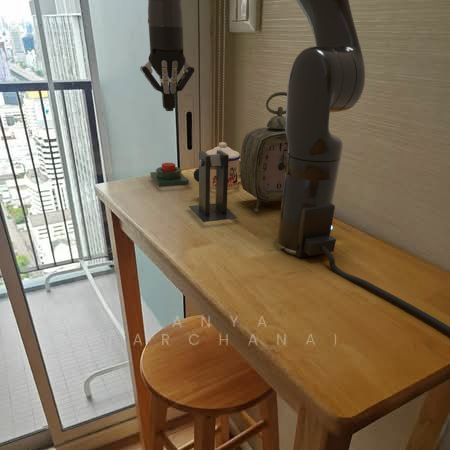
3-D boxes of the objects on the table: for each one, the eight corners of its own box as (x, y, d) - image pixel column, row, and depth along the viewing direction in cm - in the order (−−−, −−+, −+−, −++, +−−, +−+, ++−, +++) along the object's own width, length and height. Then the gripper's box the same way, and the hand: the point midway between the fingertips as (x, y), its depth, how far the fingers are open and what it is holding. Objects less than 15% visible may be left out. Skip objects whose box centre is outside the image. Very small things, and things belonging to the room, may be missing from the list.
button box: (188, 188, 108) (188, 173, 106) (159, 191, 106) (158, 175, 104) (178, 178, 116) (178, 163, 114) (150, 180, 114) (149, 165, 111)
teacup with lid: (211, 195, 104) (212, 147, 98) (200, 184, 112) (200, 139, 105) (253, 191, 108) (257, 145, 102) (240, 181, 115) (242, 138, 109)
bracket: (188, 210, 94) (187, 148, 87) (221, 207, 97) (222, 146, 90) (203, 226, 87) (203, 160, 79) (237, 222, 89) (240, 157, 82)
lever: (193, 184, 96) (190, 170, 96) (205, 183, 97) (203, 169, 97) (209, 168, 84) (207, 152, 83) (224, 167, 85) (221, 151, 84)
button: (177, 172, 108) (177, 165, 107) (163, 173, 107) (163, 166, 106) (173, 168, 111) (173, 162, 110) (160, 169, 110) (160, 163, 109)
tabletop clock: (251, 218, 91) (260, 94, 78) (234, 205, 98) (239, 89, 85) (306, 211, 97) (322, 93, 83) (286, 199, 104) (298, 89, 90)
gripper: (139, 23, 85) (145, 113, 94) (199, 26, 90) (200, 112, 99) (132, 24, 91) (139, 109, 100) (189, 26, 95) (190, 108, 105)
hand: (169, 110), depth 100 cm, fingers closed
